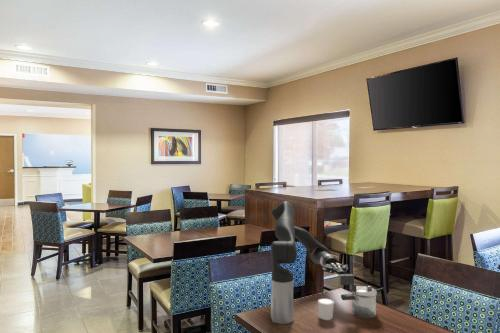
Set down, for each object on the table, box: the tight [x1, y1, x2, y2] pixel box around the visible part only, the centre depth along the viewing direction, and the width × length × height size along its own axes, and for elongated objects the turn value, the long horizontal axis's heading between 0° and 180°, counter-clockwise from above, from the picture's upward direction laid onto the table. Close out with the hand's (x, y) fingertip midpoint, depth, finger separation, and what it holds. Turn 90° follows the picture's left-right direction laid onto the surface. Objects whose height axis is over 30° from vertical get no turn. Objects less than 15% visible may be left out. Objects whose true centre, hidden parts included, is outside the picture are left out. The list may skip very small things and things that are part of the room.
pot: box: [340, 292, 377, 319], centre depth 161 cm, size 15×10×9 cm, turn 96°
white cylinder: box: [317, 298, 335, 321], centre depth 157 cm, size 7×7×7 cm
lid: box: [338, 273, 378, 297], centre depth 160 cm, size 16×11×8 cm, turn 95°
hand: (341, 273), depth 166 cm, fingers closed
